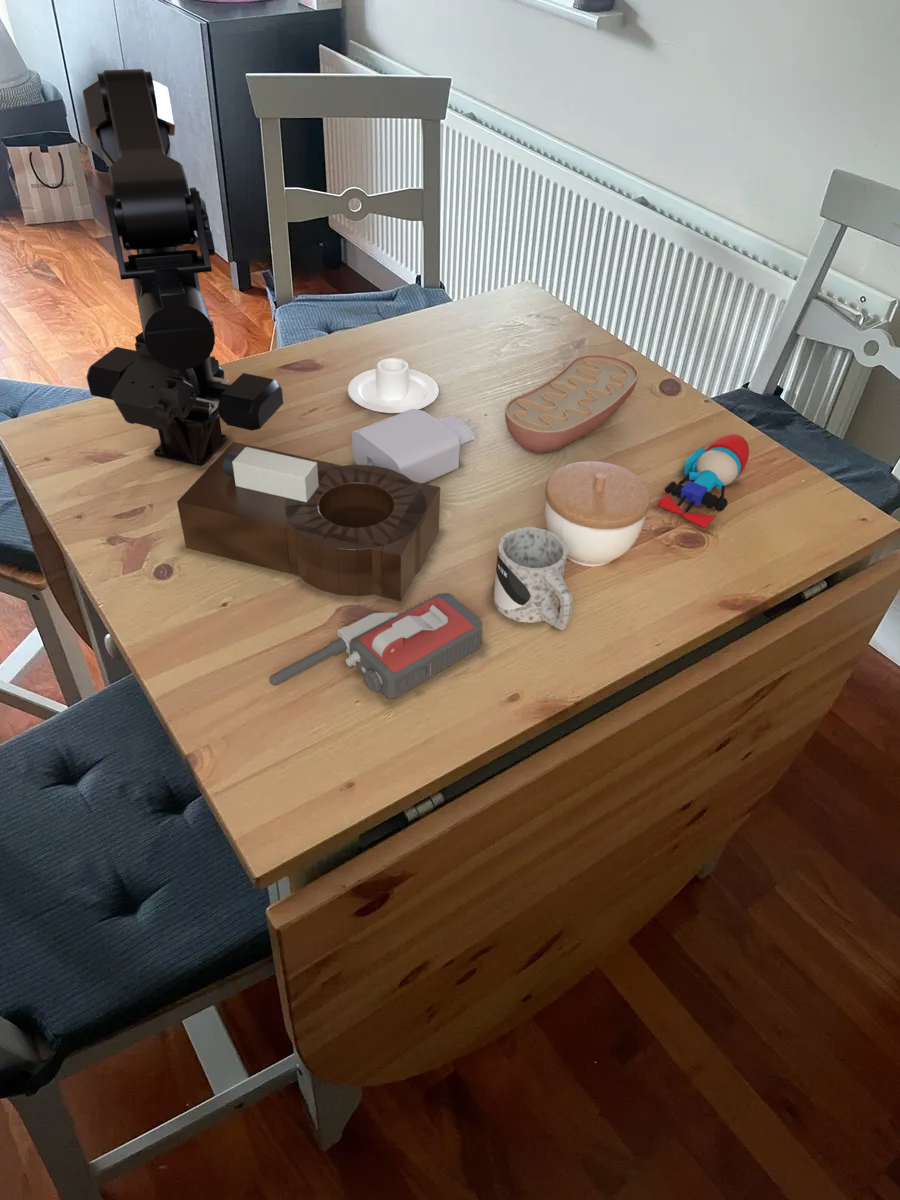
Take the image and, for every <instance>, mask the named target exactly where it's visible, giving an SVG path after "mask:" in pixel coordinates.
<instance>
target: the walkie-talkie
mask: <svg viewBox="0 0 900 1200" xmlns="http://www.w3.org/2000/svg"><path fill="white" fill-rule="evenodd" d="M482 630H483V621H482V620H481V618H480V617H479V616H478V615H477V614H475V612H473V611H472V610H471V609H469V608H468V607H467V606H466V605H464V604H463V603H462V602H461V601H460V600H459V599H457V598H456V597H455V596H454V595H453V594H451V593H449V592H443V593H436V594H435V595H432V596H431V597H429V598H427V599H425V600H423V601H422V602H419V603H418V604H415V605H414V606H412V607H410V608H408V609H406V610H405V611H402V612H401V613H399V612H398V611H397V612H373V613H370V614H368V615H367V616H364V617H362V618H360V619H359V620H357V621H355V622H353V623H351V624H349V625H346V626H342V627H340V628H339V629H337V633H336V634H337V638H336V639H334V640H332V641H330V642H329V644H328V645H326V646H324V647H322V648H320V649H318V650H316V651H314V652H313V653H311V654H309V655H307V656H304V657H303V658H301V659H300V660H297V661H295V662H293V663H291V664H289V665H288V666H286V667H284V668H282V669H280V670H278V671H276V672H275V673H273V674H271V675H270V676H269V678H268V679H269V680H268V681H269V683H270V685H272V686H278V685H280V684H282V683H284V682H286V681H288V680H290V679H292V678H294V677H296V676H297V675H299V674H301V673H303V672H304V671H307V670H308V669H310V668H312V667H314V666H316V665H317V664H319V663H322V662H323V661H325V660H327V659H329V658H331V657H332V656H333V657H334V655H335V656H338V655H340V654H341V653H343V652H346V654H348V657H347V658H345V663H346V664H347V666H348V667H352V666H353V667H355V668H356V669H357V670H359V672H360V673H361V674H362V675H363V679H364V682H365V684H366V685H367V687H368V688H369V690H371V691H372V692H374V693H378V692H381V693H382V694H383V695H384V696H385V697H386V698H387V699H396V698H398V697H399V696H401V695H403V694H404V693H406V692H408V691H409V690H411V689H413V688H415V687H416V686H418V685H420V684H422V683H423V682H426V681H427V680H428V679H430V678H432V677H433V676H435V675H437V674H438V673H440V672H442V671H443V670H446V669H447V668H449V667H450V666H452V665H454V664H455V663H456V662H459V661H460V660H462V659H464V658H465V657H468V655H470V654H472V653H473V652H476V651H477V650H479V649H481V641H482V632H483V631H482Z"/></svg>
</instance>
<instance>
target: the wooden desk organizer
mask: <svg viewBox="0 0 900 1200" xmlns="http://www.w3.org/2000/svg"><path fill="white" fill-rule="evenodd" d="M245 447H249V448H254V449H258V450H263V451H267V452H272V453H276V454H281V455H285V456H290V457H294V458H299V459H303V460H308V461H312V462H317V470H318V484H319V487H318V488H317V489H316V491H315V492H314V493H313V495H312V496H311V497H310V499H309V500H308V501H307V502H303V501H299V500H294V499H290V498H286V497H281V496H277V495H273V494H268V493H264V492H260V491H255V490H251V489H247V488H242V487H238V486H236V484H235V477H233V476H229V475H226V474H225V473H224V471H223V462H224V459H225V457H226V455H227V454H228V453H229V452H232V453H237V454H240V453H241V452H242V451H243V449H244V448H245ZM440 502H441V487H440V486H436V485H432V484H428V483H419V482H414V481H412V480H411V479H410V478H408V477H407V476H405V475H403V474H401V473H398V472H396V471H394V470H391V469H388V468H383V467H378V466H373V465H357V464H346V465H345V464H344V465H342V464H337V463H332V462H329V461H323V460H320V459H314V458H309V457H305V456H302V455H296V454H292V453H287V452H282V451H278V450H273V449H268V448H265V447H260V446H255V445H250V444H247V443H241V442H237V441H232V443H231V444H230V445H229V446H228V447H226V448H225V450H224V451H223V452H222V453H221V454H220V455H219V456H218V457H217V458H216V459H215V461H214V462H213V463H211V464H210V466H209V467H208V468H207V469H206V470H205V471H204V472H203V473H202V474H201V475H200V477H199V478H198V479H196V481H195V482H194V483H192V485H191V486H190V487H189V488H188V489H187V491H185V492H184V494H182V496H181V497H180V498H179V499H178V500H177V501H176V504H177V509H178V515H179V519H180V524H181V530H182V534H183V539H184V544H185V548H186V549H189V550H193V551H198V552H202V553H205V554H209V555H213V556H217V557H220V558H226V559H230V560H234V561H237V562H241V563H245V564H249V565H252V566H253V565H254V566H256V567H257V566H258V567H260V568H265V569H269V570H273V571H278V572H281V573H285V574H290V575H293V576H297V577H299V578H301V580H303V581H304V582H305V583H306V584H308V585H310V586H312V587H314V588H316V589H318V590H320V591H323V592H327V593H331V594H335V595H339V596H348V597H349V596H352V597H353V596H354V597H363V596H372V595H374V596H377V597H382V598H386V599H388V600H392V601H397V602H401V601H402V599H403V598H404V597H405V594H406V593H407V591H408V589H409V587H410V585H411V583H412V581H413V579H414V578H415V576H416V575H417V574H418V573H419V572H420V571H421V569H422V567H423V565H424V563H425V561H426V558H427V554H428V553H429V550H430V548H431V547H432V545H433V543H434V541H435V540H436V537H437V535H438V534H439V533H440V532H439V530H440V528H439V527H440V504H441V503H440Z"/></svg>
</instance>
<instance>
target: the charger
mask: <svg viewBox="0 0 900 1200" xmlns="http://www.w3.org/2000/svg"><path fill="white" fill-rule="evenodd" d="M468 422H471V418H470V417H465V418H463V419H460V418H459V417H457V416H455V415H446V416H444V417H442V418H440V419H437V418H435V417H434V416H432V415H430V414H429V413H428V412H426V411H424V410H421V409H418V410H417V409H411V410H408V411H405V412H403V413H397V414H395V415H393V416H390V417H388V418H384V419H382V420H379V421H377V422H374V423H371V424H369V425H366V426H364V427H361V428H358V429H356V430H354V431H352V432H351V455H352V459H353V461H354V464H355V465H373V466H378V467H383V468H388V469H391V470H394V471H396V472H398V473H401V474H403V475H405V476H407V477H408V478H410V479H411V480H412V481H414V482H419V483H424V484H427V483H428V482H431V481H433V480H435V479H438V478H441V477H442V476H445V475H447V474H449V473H451V472H454V471H456V470H458V469H459V465H460V453H461V447H462V446H463V445H465V444H468V443H470V442H473V441H474V440H476V438H477V437H476V435H475V432H473V430H475V429H478V428H480V424H479V423H475V424H472V425H470V426H469V425H468V424H467V423H468Z"/></svg>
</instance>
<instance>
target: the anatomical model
mask: <svg viewBox="0 0 900 1200" xmlns="http://www.w3.org/2000/svg"><path fill="white" fill-rule="evenodd" d="M638 379H639V370H638V369H637V367H635V365H634V364H632V363H631V362H630V361H628V360H626V359H624V358H621V357H618V356H615V355H610V354H603V353H590V354H583V355H579V356H576V357H574V358H573V359H572V360H571V361H570V362H569V363H568V364H567V365H566V366H564V367H563V369H562V370H560V371H559V372H558V373H556V375H554V376H553V377H551V378H550V379H548V380H547V381H545V382H543V383H541V384H540V385H538V386H536V387H534V388H532V389H531V390H528V391H526V392H523V393H522V394H520V395H518V396H515V397H514V398H513V397H512V398H511V399H510V400H509V401H507V403H506V405H505V408H504V419H505V420H504V421H505V424H506V428H507V431H508V433H509V435H510V436H511V438H512V439H513V440H514V442H515V443H516V444H518V445H519V446H520V447H522V448H523V449H525V450H527V451H530V452H533V453H537V454H538V453H539V454H540V453H541V454H542V453H543V454H544V453H550V452H555V451H557V450H559V449H561V448H563V447H565V446H567V445H569V444H571V443H573V442H575V441H577V440H579V439H580V438H583V437H584V436H586V435H588V434H590V433H591V432H592V431H593V430H595V429H596V428H597V427H600V426H601V425H602V424H604V423H605V422H606V421H607V420H609V419H610V418H611V417H612V416H613V415H614V414H615V413H616V412H617V410H618V409H619V408H620V407H621V406H622V405H623V404H624V403H625V401H627V399H628V398H629V397H630V396H631V394H632V393H633V392H634V390H635V387H636V385H637V383H638Z"/></svg>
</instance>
